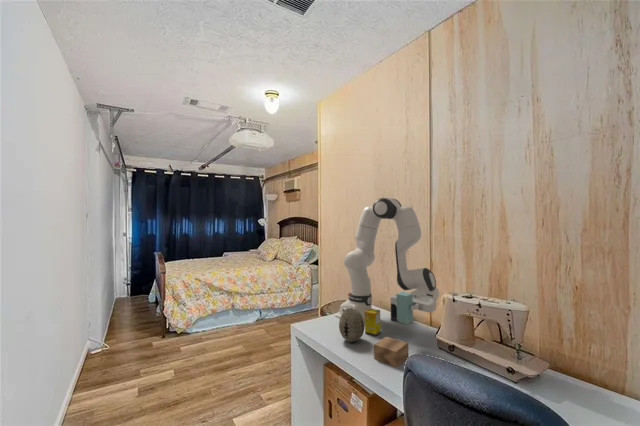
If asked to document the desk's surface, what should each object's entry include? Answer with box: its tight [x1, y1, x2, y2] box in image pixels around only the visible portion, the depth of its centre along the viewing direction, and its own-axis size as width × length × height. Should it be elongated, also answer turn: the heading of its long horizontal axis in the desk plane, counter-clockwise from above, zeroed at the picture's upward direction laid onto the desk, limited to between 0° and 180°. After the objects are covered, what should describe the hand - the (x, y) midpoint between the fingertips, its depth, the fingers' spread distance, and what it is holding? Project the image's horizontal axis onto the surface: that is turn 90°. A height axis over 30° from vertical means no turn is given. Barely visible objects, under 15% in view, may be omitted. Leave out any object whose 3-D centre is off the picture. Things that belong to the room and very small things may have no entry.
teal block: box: [396, 291, 414, 325], centre depth 129 cm, size 5×5×12 cm
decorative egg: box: [338, 308, 365, 343], centre depth 135 cm, size 12×12×15 cm
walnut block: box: [373, 336, 409, 368], centre depth 118 cm, size 10×10×6 cm
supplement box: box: [364, 308, 382, 337], centre depth 143 cm, size 6×6×11 cm
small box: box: [390, 303, 398, 322], centre depth 163 cm, size 11×6×10 cm, turn 168°
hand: (403, 306), depth 128 cm, fingers closed on teal block, 5 cm apart
